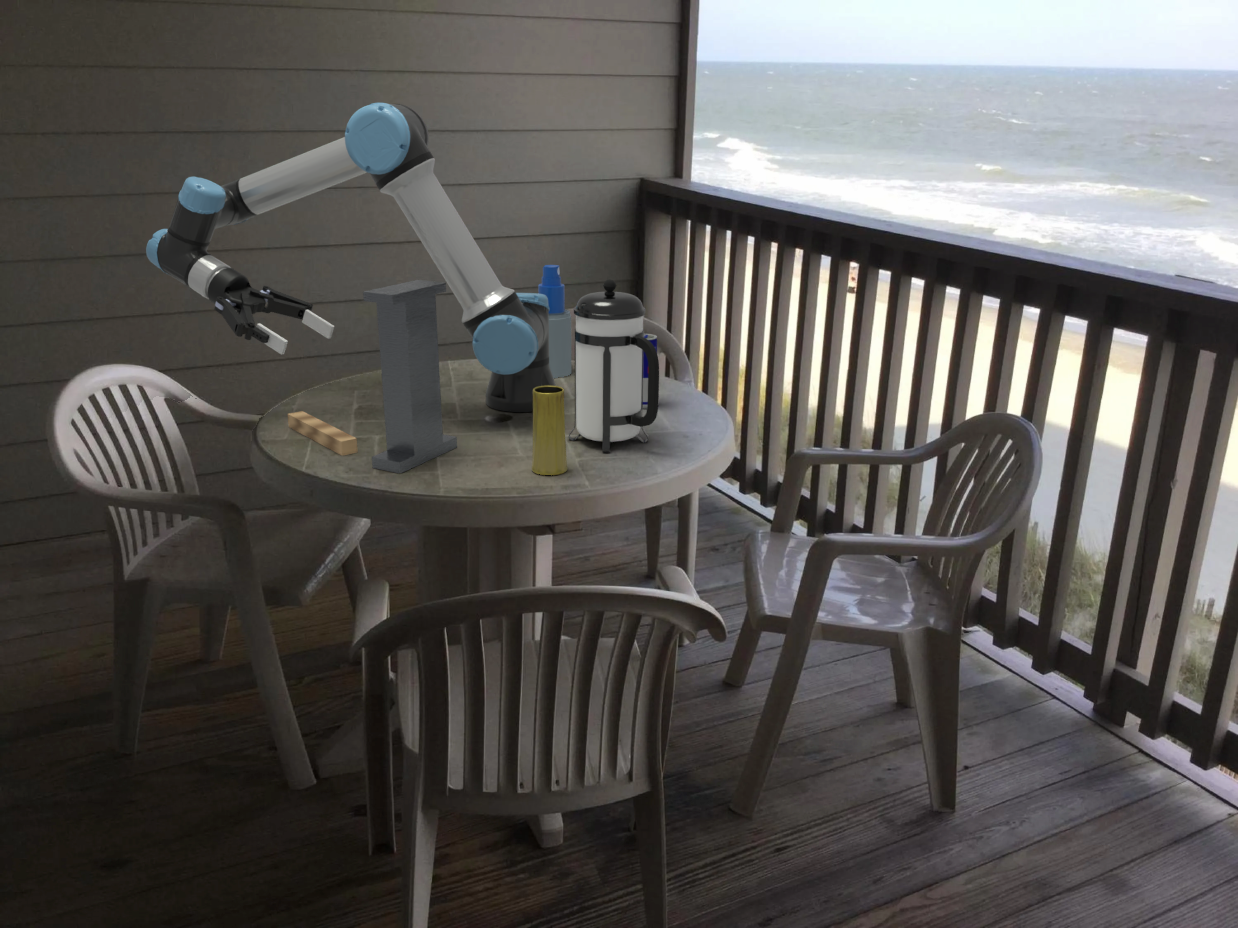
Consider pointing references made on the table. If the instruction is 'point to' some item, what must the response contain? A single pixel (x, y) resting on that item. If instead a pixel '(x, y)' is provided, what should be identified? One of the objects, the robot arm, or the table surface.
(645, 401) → the beverage can
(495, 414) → the table surface
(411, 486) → the table surface
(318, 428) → the oak bar
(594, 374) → the coffee press
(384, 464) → the charcoal post
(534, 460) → the vase
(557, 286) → the spray bottle
